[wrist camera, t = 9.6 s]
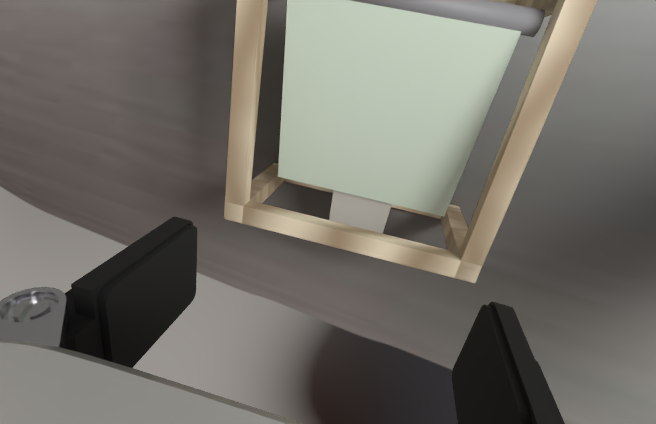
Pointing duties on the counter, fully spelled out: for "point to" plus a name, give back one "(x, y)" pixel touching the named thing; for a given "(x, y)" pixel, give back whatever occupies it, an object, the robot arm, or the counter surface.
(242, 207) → the frame
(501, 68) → the trapdoor
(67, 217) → the counter surface
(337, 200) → the cube
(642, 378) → the counter surface
